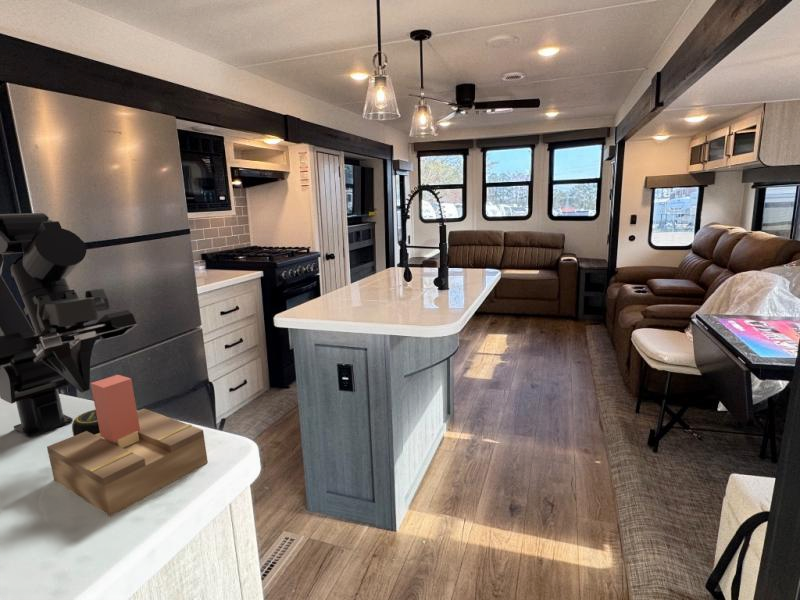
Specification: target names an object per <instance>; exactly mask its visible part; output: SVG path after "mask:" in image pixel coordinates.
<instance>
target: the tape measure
mask: <svg viewBox="0 0 800 600" xmlns="http://www.w3.org/2000/svg"><path fill="white" fill-rule="evenodd" d="M71 429H72V431H71V432H72V435H73V436H75V435H78V434H80V433H83V432H85V431H88V432H90V433H92V434H94V435H95V434H98V433H100V430H99V425H98V420H97V414H96V409H93V410H89V411H86V412H83V413H81V414H79V415H77V416H76V417H75V419H73V421H72V424H71Z"/></svg>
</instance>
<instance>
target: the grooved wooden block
mask: <svg viewBox="0 0 800 600" xmlns="http://www.w3.org/2000/svg"><path fill="white" fill-rule="evenodd" d="M137 415H138V420H139V426H140V431H139V432H138V436H139V441H138V442H135V443H133V444H131V445H129V446H126V447H124V448H121V447H119V446H117V445H115V444H113V443H111V442H109V441H107V440H105V439H104V438H103V437H101V435H100V433H98V434H95V435H94V434H92V433H90V432H88V431H85V432H83V433H80V434H78V435H75V436H74V435H73V436H70V437H68V438H66V439H63V440H60V441H58V442H55V443H52V444H50V445H48V446H46V450H47V454H48V458H49V462H50V467H51V472H52V476H53V481H54V482H56V483H58V484H60V486H62V487H64V488H65V489H67V490H68V491H70V492H71V493H73V494H75V495H76V496H77V497H79V498H81V499H82V500H84V501H86V502H87V503H88V504H91V505H92V506H94V507H95V508H97V509H98V510H99V511H101V512H103V513H104V514H106V515H108V516H109V517H112V516H114V515H116V514H118V513H119V512H121V511H123V510H125V509H126V508H129V507H130V506H132V505H134V504H135V503H137V502H139V501H141V500H143V499H144V498H146V497H148V496H150V495H152V494H154V493H155V492H157V491H159V490H161V489H162V488H165V487H166V486H168V485H169V484H172V483H174V482H175V481H177V480H179V479H180V478H183V477H184V476H186V475H188V474H189V473H191V472H193V471H196V470H197V469H198V468H200V467H202V466H204V465H206V464H207V463H209V462H208V454H207V449H206V447H207V446H206V441H205V433H204V429H202V428H199V427H196V426H193V425H192V424H189V423H185V422H182V421H180V420H177V419H174V418H171V417H170V416H169V417H168V416H166V415H163V414H160V413H158V412H155V411H152V410H149V409H146V408H142V409H139V410H137Z"/></svg>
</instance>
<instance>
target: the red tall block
mask: <svg viewBox="0 0 800 600" xmlns="http://www.w3.org/2000/svg"><path fill="white" fill-rule="evenodd" d="M90 388H91V393H92V397H93V402H94V403H93V404H94V407H95V408H94V410H96V414H97V420H98V425H99V430H100V435H101V437H103V438H104V439H105V440H107V441H109V442H111V443H113V444H115V445H117V446H119V447H121V448H124V447H126V446H129V445H131V444H133V443H135V442H138V441H139V436H138V432H139V431H140V426H139V420H138V415H137V411H138V409H137V405H136V398H135V393H134V392H135V391H134V387H133V381H132V377H131V378H130V377H127V376H124V375H121V374H115V375H112V376H110V377H106V378H103V379H100V380H96V381H94V382H90Z"/></svg>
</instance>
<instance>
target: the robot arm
mask: <svg viewBox="0 0 800 600" xmlns="http://www.w3.org/2000/svg"><path fill="white" fill-rule="evenodd" d="M84 241H85V240H82V239H81V238H80V236H78V235H77V234H76V233H74V232H73V231H71V230H68V229H66V228H62V225H61V223H60V221H59V220H58V221H57V220H56V221H53V220H51V219H49V216H48V215H47V214H45V213H43V212H32V213H31V212H30V213H27V212H26V213H0V399H1V400H3V401H4V402H6V403H9V404H10V405H11V404H15V403H16V407H17V411H18V417H19V420H20V423H19V424H16V425H14V426H13V430H15V431H17V432H19V433H20V434H22V436H25V437H27V438H31V437H35V436H37V435H40V434H43V433H46V432H48V431H51V430H54V429H56V428H59V427H62V426H65V425H66V424H70V423H73V421H74V419H73V417H70V416H68V415H66V414H64V412H63V406H62V402H61V398H60V393H59V389H61V388H65V387H70V386H71V385H72V386H73V387H74V388H75V389H76V390H77V391H79V392H80V393H82V394H83V393H86V392H88V391H89V390H90V388H91V381H90V380H91V359H92V352H93V349H94V346H95V345H97V344H99V342H101V340H104V341H105V340H110V339H114V338H118V337H120V336H121V337H122V336H124V335H126V334H128V333H129V332H131V330H133V329H134V328H136V327H137V326H138V325H139V321H138V319H137V316H136V314H134V313H133V312H131V311H130V310H129V309H126V310H122V311H116V312H112V313H111V312H110V313H107V314H105V315H104V316H102V317H101V318H99V313H100V312H102V311H103V312H104V311H109V310H110V301H109V298H108V295H107V294H106V292H105V289H104V288H97V289H90V290H86V291H85V297H79V296H78V294H77V292H76V291H75V289H71V288H70V285H69V283H68V281H67V279H66V278H68V277H69V276H70V275H71V273H72V272H73V271H74V270H75V269H76V268H77V266H79V264H81V262H82V261H83V260H84V259H85V257H86V255H87V246H86V244H85V242H84ZM22 253H23V255H21V256H19V257H17V258H16V259H15V260H14V262H13V263H12V265H11V266H10V276H11V277H12V278H14V281H15V283H16V285H17V288H18V291H19V293H20V296H21V300H22V301H23V304H24V308H23V310H22V308H21V306H20V305H19V303H18V301H17V300H16V298H15V295H13V293H12V291H11V290H10V288H9V286H8V284H7V283H6V281H5V279H4V277H3V276H2V272H3V265H4V261H5V256H6V255H10V254H22ZM27 316H28V317H29V319H30V321H29V320H28V318H27ZM96 320H97V321H96ZM93 321H96V322H95V323H90V322H93ZM30 322H31V323H30ZM86 323H90V324H86ZM31 324H32V325H31ZM85 324H86V325H85Z"/></svg>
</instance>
